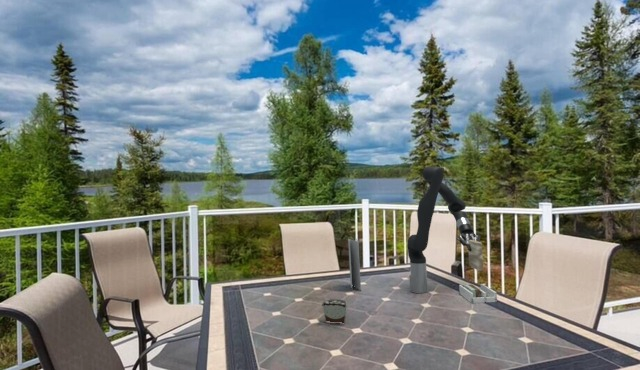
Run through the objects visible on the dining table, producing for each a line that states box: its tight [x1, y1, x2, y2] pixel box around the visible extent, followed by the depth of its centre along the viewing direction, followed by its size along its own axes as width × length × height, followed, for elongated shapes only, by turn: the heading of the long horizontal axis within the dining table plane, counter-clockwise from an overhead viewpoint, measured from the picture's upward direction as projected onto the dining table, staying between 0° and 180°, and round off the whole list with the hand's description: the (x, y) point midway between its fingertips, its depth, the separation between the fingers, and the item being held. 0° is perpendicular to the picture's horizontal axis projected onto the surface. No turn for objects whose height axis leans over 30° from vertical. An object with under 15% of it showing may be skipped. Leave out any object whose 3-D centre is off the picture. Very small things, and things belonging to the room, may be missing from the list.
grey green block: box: [468, 284, 480, 298], centre depth 202 cm, size 2×10×6 cm, turn 0°
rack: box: [458, 283, 498, 304], centre depth 202 cm, size 13×17×5 cm
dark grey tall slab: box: [347, 238, 362, 291], centre depth 233 cm, size 14×6×30 cm, turn 179°
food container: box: [321, 298, 348, 324], centre depth 177 cm, size 12×6×10 cm, turn 71°
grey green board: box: [467, 239, 484, 271], centre depth 210 cm, size 3×12×15 cm, turn 0°
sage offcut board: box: [463, 284, 476, 298], centre depth 202 cm, size 2×10×6 cm, turn 0°
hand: (473, 250), depth 212 cm, fingers closed on grey green board, 3 cm apart
